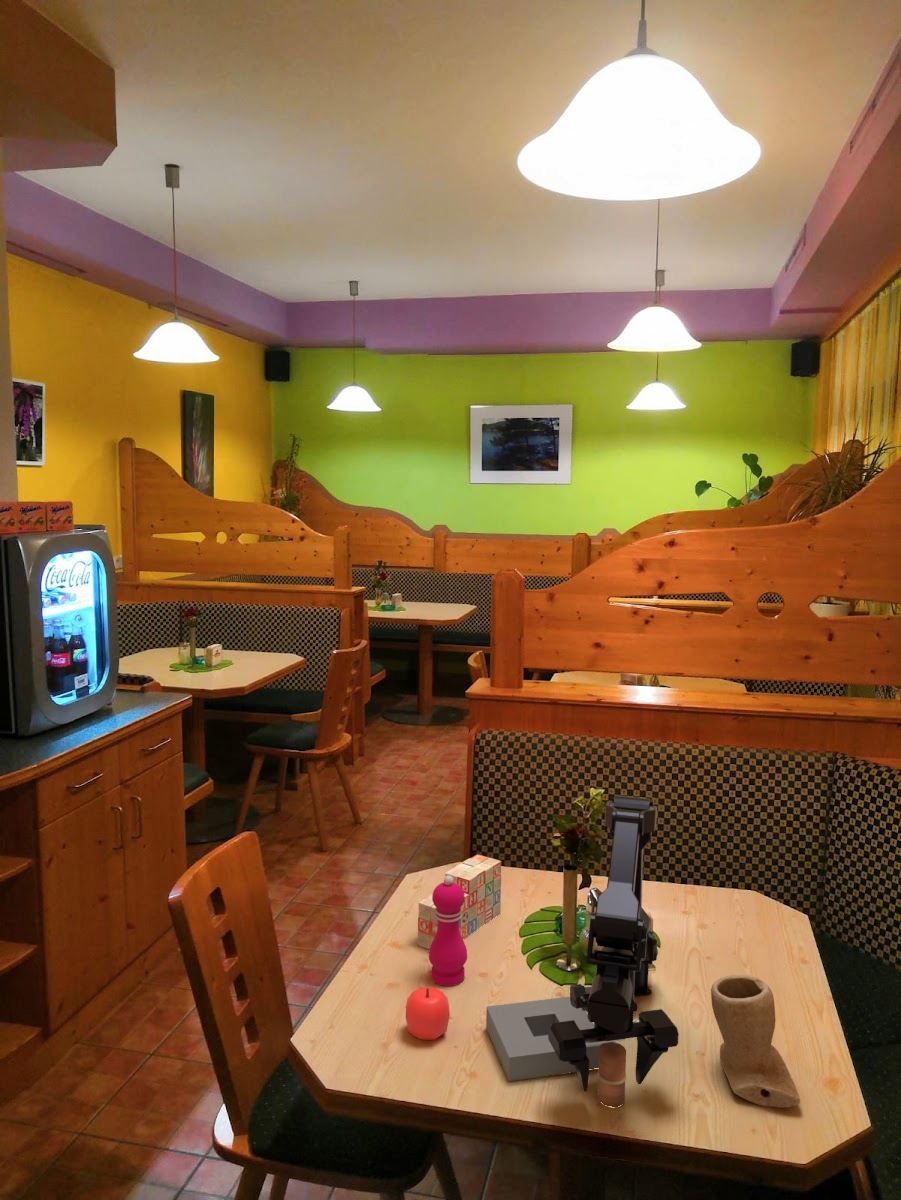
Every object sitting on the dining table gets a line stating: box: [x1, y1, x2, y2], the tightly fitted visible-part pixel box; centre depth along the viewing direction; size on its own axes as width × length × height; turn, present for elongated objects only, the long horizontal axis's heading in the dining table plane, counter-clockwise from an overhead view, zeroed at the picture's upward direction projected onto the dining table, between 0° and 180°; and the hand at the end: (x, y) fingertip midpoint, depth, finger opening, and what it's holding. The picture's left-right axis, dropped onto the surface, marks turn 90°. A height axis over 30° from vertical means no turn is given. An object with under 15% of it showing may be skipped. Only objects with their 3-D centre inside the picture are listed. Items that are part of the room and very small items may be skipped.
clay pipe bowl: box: [710, 974, 801, 1108], centre depth 140 cm, size 15×12×15 cm
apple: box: [405, 986, 450, 1041], centre depth 152 cm, size 8×8×8 cm
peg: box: [597, 1041, 627, 1108], centre depth 135 cm, size 4×4×8 cm
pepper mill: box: [428, 876, 468, 987], centre depth 168 cm, size 7×7×20 cm
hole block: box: [485, 996, 603, 1082], centre depth 148 cm, size 16×14×4 cm
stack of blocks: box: [417, 854, 502, 950], centre depth 187 cm, size 21×6×12 cm, turn 144°
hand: (611, 1086), depth 136 cm, fingers open, 8 cm apart
